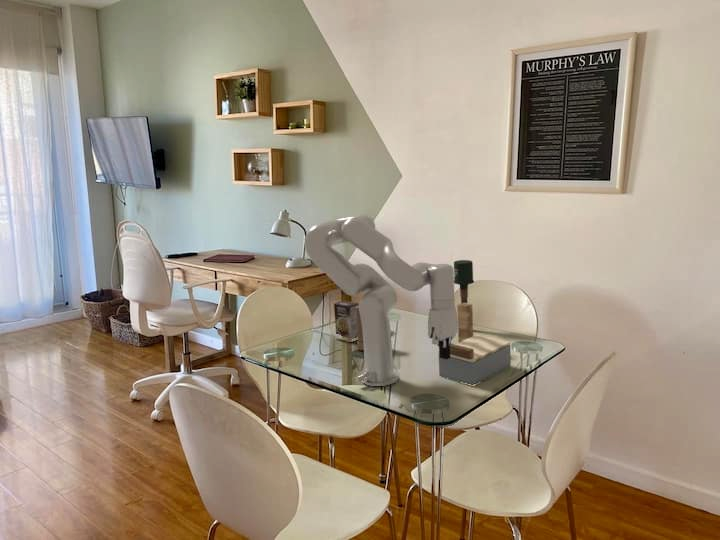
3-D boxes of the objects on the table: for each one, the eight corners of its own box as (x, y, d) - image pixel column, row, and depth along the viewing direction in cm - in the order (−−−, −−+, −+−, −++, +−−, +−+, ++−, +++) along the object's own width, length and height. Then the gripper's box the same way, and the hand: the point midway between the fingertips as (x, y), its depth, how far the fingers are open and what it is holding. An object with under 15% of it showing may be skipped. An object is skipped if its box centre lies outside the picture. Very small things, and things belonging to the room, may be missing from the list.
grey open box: (473, 386, 175) (472, 363, 174) (439, 376, 185) (438, 354, 184) (510, 366, 190) (510, 345, 188) (477, 358, 200) (476, 337, 198)
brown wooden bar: (467, 351, 207) (466, 306, 204) (458, 349, 210) (457, 304, 207) (473, 348, 210) (472, 304, 206) (465, 346, 213) (463, 302, 209)
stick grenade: (460, 325, 240) (458, 259, 234) (478, 328, 235) (476, 260, 229) (451, 331, 233) (449, 262, 227) (470, 333, 228) (468, 264, 222)
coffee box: (335, 339, 232) (333, 303, 229) (345, 335, 236) (343, 300, 233) (351, 343, 226) (349, 306, 223) (361, 339, 231) (359, 302, 227)
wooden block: (384, 350, 215) (381, 306, 211) (357, 351, 216) (354, 307, 212) (384, 347, 218) (382, 304, 215) (358, 348, 219) (355, 305, 216)
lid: (472, 362, 174) (472, 351, 173) (438, 353, 184) (438, 342, 183) (510, 344, 188) (510, 333, 187) (476, 336, 198) (476, 326, 198)
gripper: (448, 296, 179) (450, 349, 183) (418, 306, 169) (420, 362, 173) (466, 299, 174) (468, 354, 177) (436, 310, 164) (439, 367, 167)
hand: (444, 357), depth 175 cm, fingers closed
